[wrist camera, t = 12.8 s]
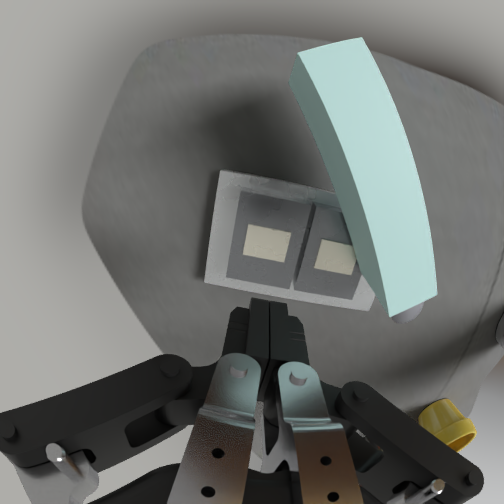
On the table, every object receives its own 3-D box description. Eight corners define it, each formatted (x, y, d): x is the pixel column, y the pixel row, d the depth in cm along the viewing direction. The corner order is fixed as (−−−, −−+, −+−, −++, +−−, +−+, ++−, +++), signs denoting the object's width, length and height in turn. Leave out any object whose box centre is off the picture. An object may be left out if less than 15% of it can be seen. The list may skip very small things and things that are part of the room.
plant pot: (419, 431, 36) (432, 468, 27) (399, 419, 34) (414, 464, 25) (462, 400, 33) (480, 436, 24) (449, 384, 31) (472, 426, 22)
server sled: (397, 209, 22) (415, 220, 19) (364, 303, 26) (375, 324, 23) (223, 168, 22) (214, 172, 19) (207, 275, 26) (198, 294, 22)
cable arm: (403, 279, 20) (438, 321, 14) (366, 295, 21) (393, 343, 15) (334, 68, 15) (361, 37, 9) (288, 82, 16) (297, 52, 10)
